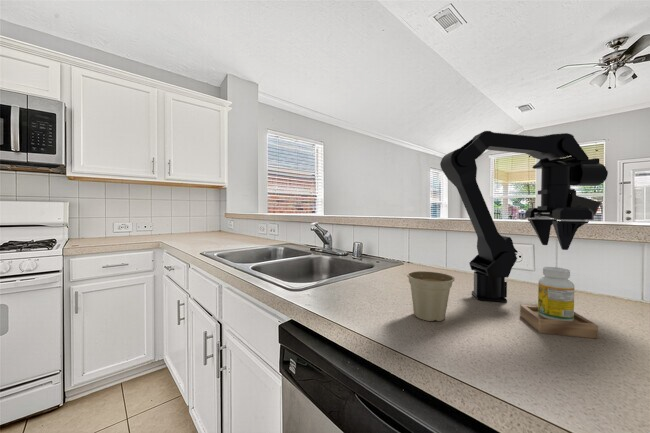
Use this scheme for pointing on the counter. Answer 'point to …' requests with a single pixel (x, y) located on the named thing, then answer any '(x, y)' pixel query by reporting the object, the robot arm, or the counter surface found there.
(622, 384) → the counter surface
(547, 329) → the wooden tray
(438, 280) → the flower pot
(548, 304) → the supplement bottle
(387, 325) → the counter surface
